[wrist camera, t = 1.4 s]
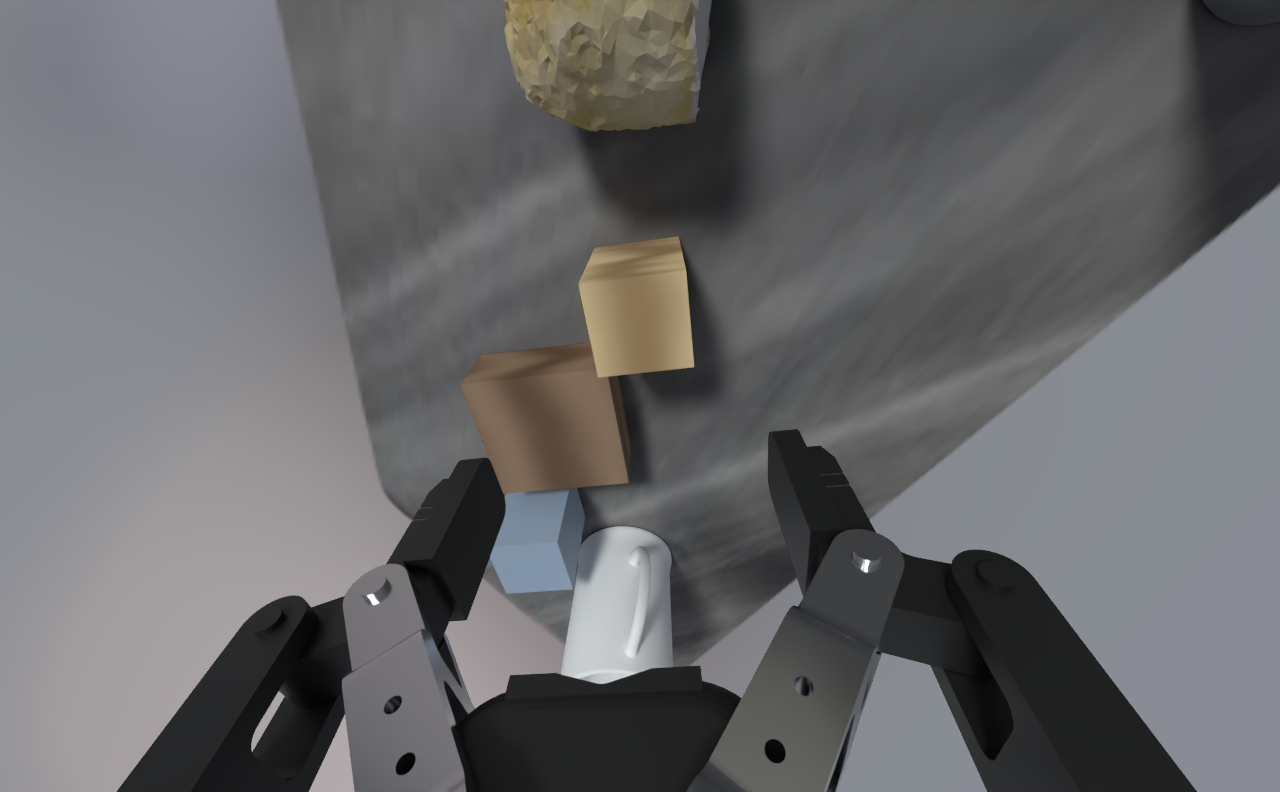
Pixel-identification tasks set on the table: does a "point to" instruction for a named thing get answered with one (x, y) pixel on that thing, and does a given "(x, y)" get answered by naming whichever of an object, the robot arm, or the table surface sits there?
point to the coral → (610, 59)
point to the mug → (620, 607)
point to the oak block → (638, 308)
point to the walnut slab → (549, 419)
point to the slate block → (539, 541)
